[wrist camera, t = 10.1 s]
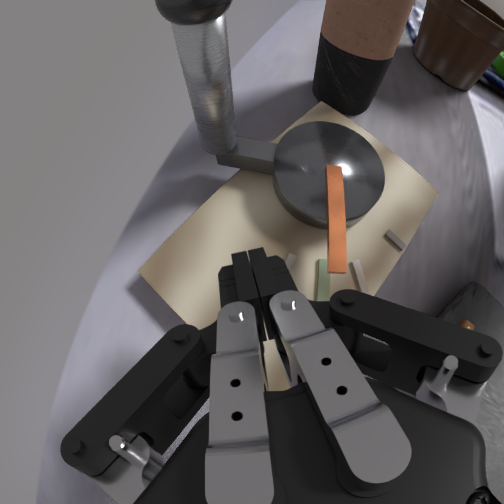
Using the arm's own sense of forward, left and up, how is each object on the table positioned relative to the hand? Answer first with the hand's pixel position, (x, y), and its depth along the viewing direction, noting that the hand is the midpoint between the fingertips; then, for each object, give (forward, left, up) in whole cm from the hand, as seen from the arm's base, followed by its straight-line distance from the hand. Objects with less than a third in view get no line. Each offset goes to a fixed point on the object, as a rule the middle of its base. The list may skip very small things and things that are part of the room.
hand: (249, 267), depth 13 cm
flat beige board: (0, -7, -10) cm, 12 cm away
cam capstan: (+3, -7, -8) cm, 11 cm away
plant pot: (+1, -49, -10) cm, 50 cm away
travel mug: (+8, -24, -10) cm, 27 cm away
